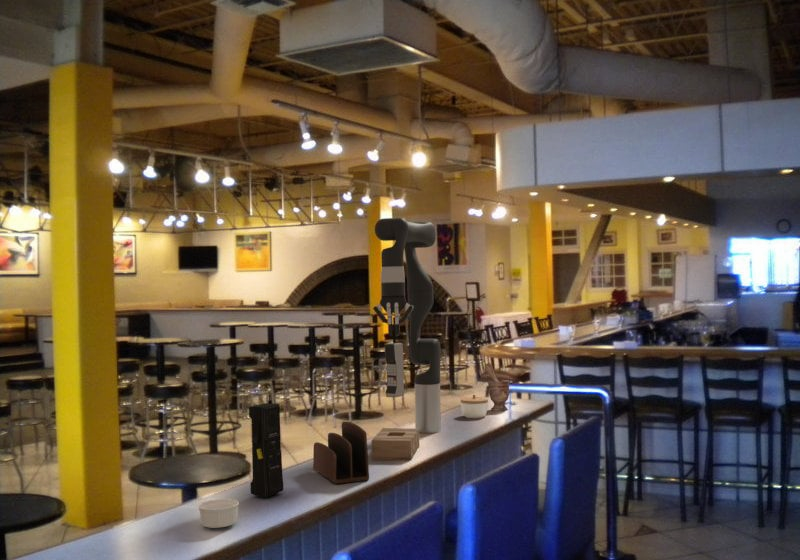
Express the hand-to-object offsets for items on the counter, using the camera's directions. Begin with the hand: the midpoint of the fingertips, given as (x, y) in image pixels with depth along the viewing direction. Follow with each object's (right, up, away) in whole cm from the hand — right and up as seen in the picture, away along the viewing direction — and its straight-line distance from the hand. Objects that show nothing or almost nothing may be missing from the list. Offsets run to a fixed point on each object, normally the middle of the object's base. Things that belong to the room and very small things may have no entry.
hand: (394, 336), depth 245 cm
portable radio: (-32, -37, -46) cm, 67 cm away
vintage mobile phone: (0, -19, 0) cm, 19 cm away
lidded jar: (+31, -37, +61) cm, 78 cm away
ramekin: (-39, -37, -70) cm, 88 cm away
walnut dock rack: (+1, -37, 0) cm, 37 cm away
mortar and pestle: (+42, -37, +75) cm, 94 cm away
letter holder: (-15, -37, -26) cm, 48 cm away
